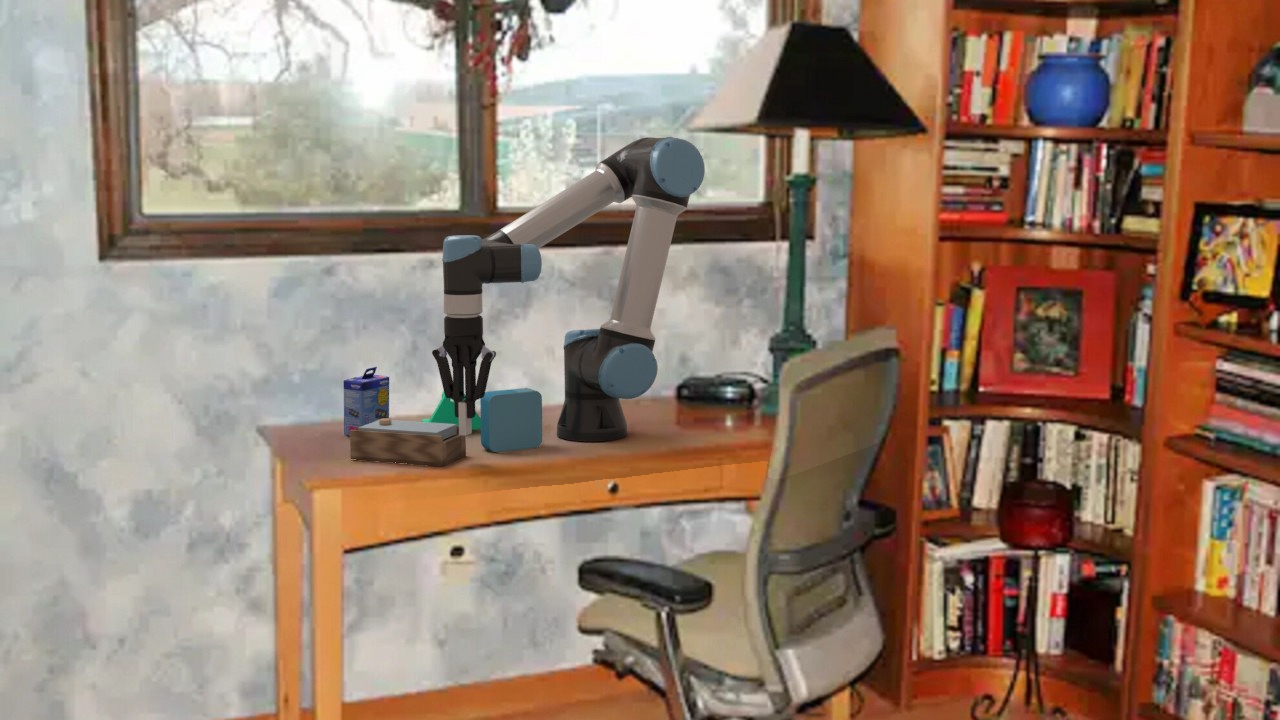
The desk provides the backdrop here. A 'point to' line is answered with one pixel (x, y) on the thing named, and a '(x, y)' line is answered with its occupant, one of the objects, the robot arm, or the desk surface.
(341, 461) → the desk surface
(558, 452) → the desk surface
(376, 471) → the desk surface
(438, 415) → the camera mount
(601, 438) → the robot arm
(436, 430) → the cover plate
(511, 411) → the data package
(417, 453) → the pencil box
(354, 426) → the ink cartridge box
